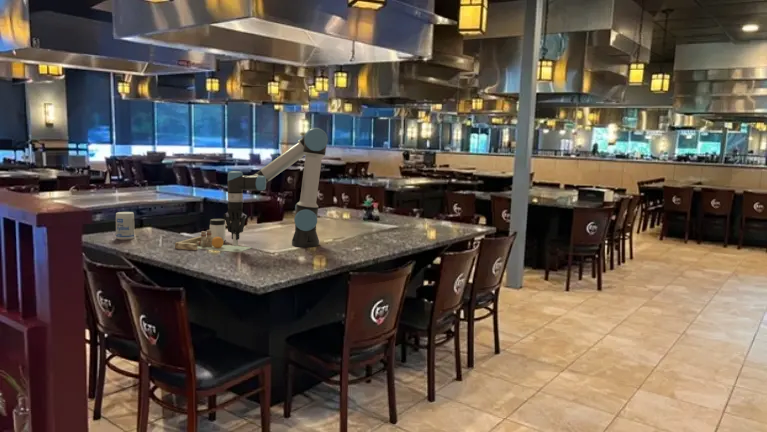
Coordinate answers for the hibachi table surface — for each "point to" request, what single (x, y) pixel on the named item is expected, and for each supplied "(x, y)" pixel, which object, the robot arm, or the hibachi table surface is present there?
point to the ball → (217, 242)
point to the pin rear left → (203, 238)
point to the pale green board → (226, 248)
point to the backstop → (189, 243)
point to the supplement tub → (124, 225)
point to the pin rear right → (208, 235)
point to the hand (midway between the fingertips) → (235, 245)
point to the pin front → (208, 244)
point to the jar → (218, 228)
